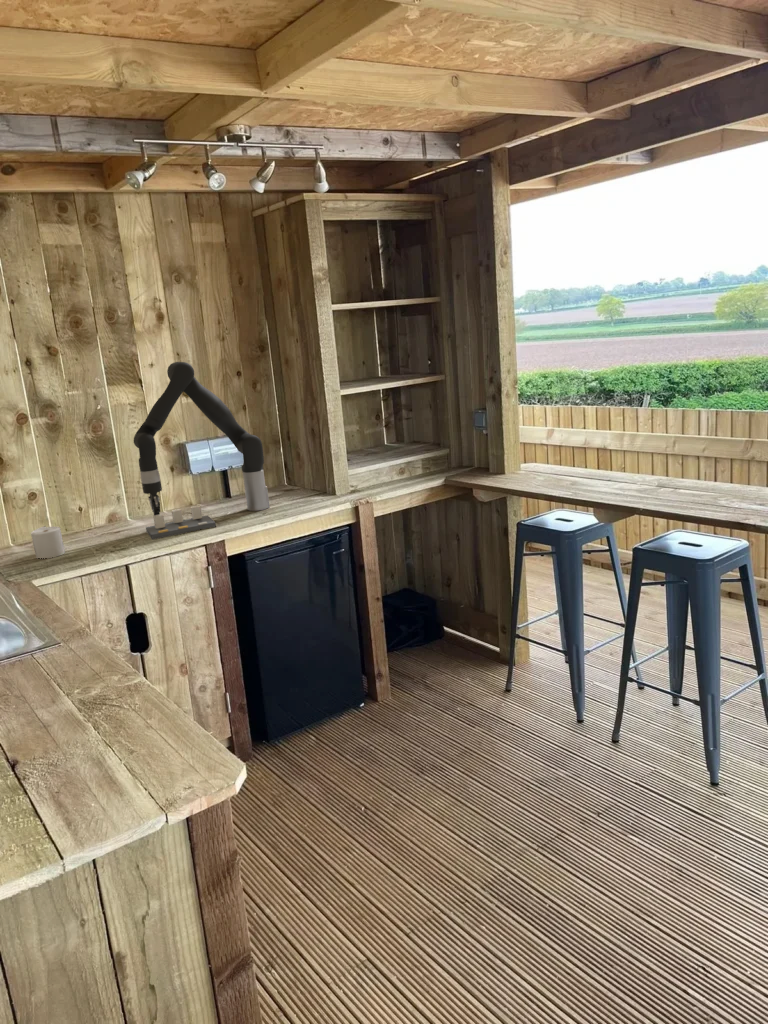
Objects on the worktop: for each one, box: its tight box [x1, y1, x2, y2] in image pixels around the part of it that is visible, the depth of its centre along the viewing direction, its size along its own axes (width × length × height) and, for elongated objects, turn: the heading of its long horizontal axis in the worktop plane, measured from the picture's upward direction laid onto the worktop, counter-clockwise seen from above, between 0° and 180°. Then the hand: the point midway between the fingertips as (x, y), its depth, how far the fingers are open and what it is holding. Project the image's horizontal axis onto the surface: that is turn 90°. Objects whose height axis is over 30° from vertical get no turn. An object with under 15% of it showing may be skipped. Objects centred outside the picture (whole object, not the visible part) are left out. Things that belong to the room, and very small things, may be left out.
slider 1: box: [152, 513, 166, 529], centre depth 320 cm, size 4×3×5 cm
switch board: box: [145, 515, 217, 540], centre depth 323 cm, size 26×14×2 cm, turn 115°
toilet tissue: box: [30, 525, 66, 560], centre depth 303 cm, size 11×12×10 cm
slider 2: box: [190, 504, 203, 520], centre depth 329 cm, size 4×3×5 cm
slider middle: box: [171, 508, 184, 523], centre depth 326 cm, size 4×3×5 cm
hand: (157, 521), depth 324 cm, fingers closed
